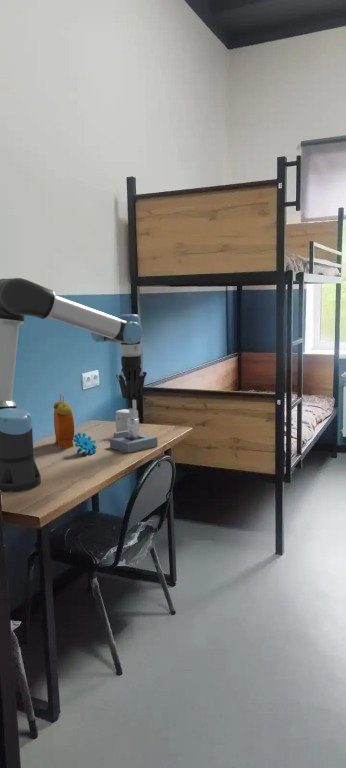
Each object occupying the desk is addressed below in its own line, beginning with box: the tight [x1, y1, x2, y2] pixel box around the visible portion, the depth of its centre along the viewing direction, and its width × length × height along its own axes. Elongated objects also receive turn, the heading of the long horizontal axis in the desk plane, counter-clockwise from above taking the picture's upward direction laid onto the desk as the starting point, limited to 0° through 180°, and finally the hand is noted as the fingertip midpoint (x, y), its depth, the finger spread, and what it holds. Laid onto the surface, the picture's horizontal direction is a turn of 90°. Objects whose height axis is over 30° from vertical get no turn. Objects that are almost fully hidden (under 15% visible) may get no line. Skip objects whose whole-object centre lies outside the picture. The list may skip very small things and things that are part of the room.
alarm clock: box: [53, 393, 75, 449], centre depth 232 cm, size 13×6×20 cm, turn 20°
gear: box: [73, 432, 98, 456], centre depth 220 cm, size 11×6×10 cm
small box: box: [115, 408, 139, 433], centre depth 245 cm, size 8×6×10 cm
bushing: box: [127, 417, 140, 441], centre depth 227 cm, size 4×4×11 cm
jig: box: [109, 430, 158, 454], centre depth 227 cm, size 14×12×5 cm
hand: (133, 416), depth 226 cm, fingers closed
